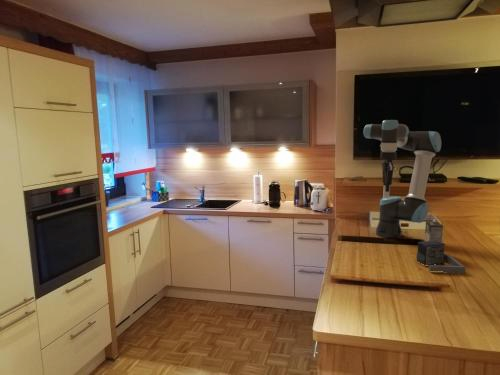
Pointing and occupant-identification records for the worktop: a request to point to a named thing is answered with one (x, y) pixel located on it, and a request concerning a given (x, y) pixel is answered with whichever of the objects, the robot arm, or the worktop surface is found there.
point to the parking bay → (454, 268)
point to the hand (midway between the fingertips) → (386, 197)
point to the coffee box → (433, 231)
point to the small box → (430, 252)
